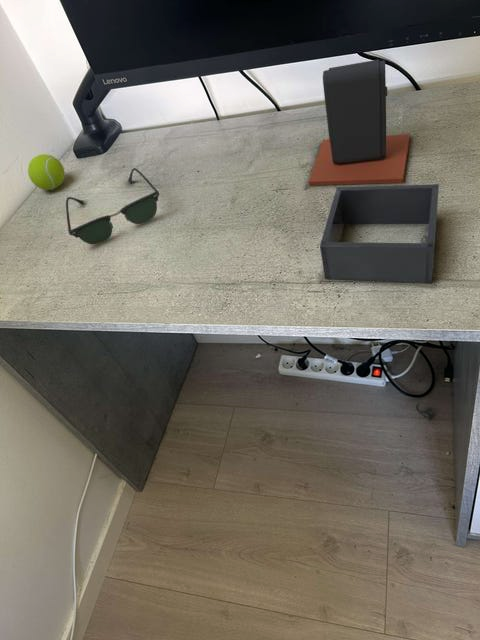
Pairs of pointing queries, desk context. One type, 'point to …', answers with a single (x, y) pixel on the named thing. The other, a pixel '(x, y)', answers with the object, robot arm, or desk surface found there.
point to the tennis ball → (46, 172)
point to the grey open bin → (380, 257)
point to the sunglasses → (102, 226)
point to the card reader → (356, 111)
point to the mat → (362, 166)
